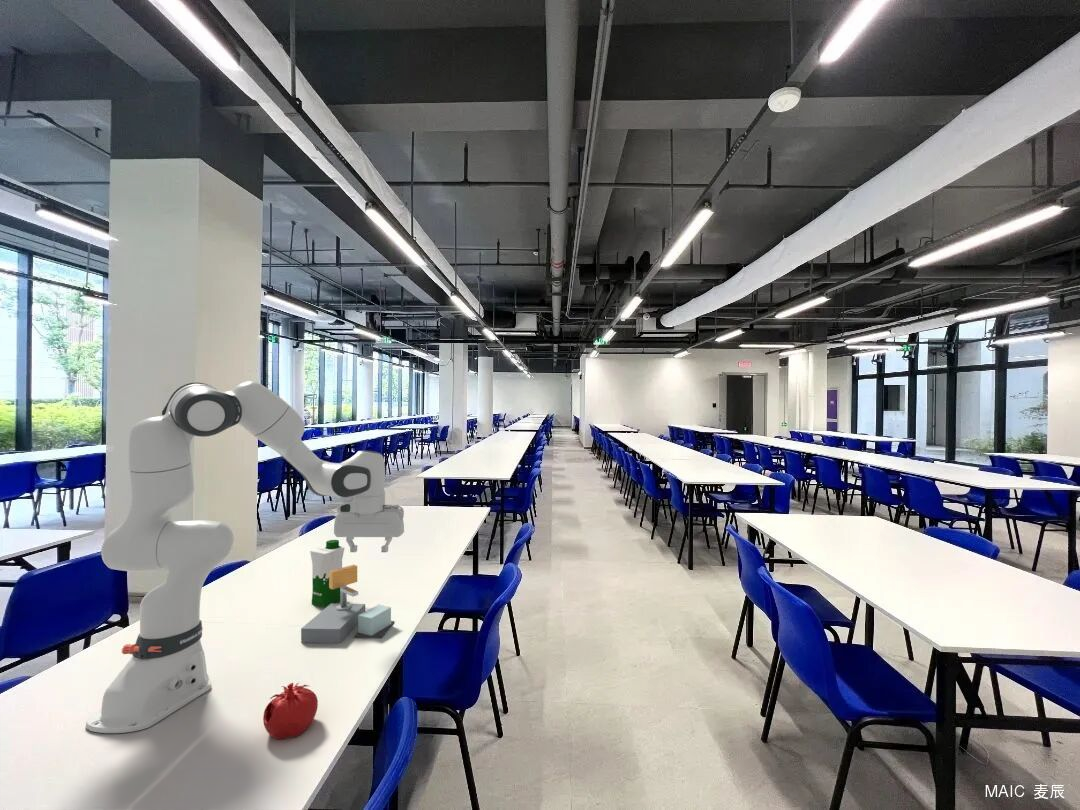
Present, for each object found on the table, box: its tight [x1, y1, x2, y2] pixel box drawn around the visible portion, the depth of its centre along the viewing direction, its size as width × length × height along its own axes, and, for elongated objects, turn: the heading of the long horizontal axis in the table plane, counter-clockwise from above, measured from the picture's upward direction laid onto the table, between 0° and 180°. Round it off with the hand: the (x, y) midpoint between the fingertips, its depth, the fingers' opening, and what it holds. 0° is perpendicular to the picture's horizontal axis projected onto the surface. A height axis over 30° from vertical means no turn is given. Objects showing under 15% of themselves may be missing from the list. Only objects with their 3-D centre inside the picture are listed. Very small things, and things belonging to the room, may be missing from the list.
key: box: [329, 564, 359, 608], centre depth 145 cm, size 8×8×12 cm
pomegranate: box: [262, 682, 319, 740], centre depth 98 cm, size 10×10×9 cm
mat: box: [353, 620, 395, 639], centre depth 140 cm, size 10×8×1 cm
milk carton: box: [309, 539, 345, 609], centre depth 161 cm, size 9×9×20 cm
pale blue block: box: [357, 604, 392, 636], centre depth 141 cm, size 8×5×5 cm, turn 156°
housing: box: [300, 602, 366, 644], centre depth 141 cm, size 17×11×4 cm, turn 177°
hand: (369, 551), depth 142 cm, fingers open, 8 cm apart
